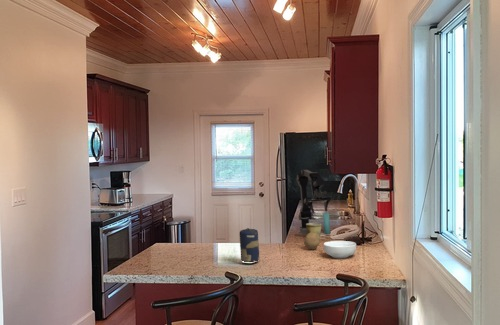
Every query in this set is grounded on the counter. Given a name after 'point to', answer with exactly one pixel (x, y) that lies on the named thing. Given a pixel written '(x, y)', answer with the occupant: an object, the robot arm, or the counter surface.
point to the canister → (249, 245)
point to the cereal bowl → (340, 248)
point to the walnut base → (302, 232)
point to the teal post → (326, 223)
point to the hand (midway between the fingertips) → (319, 212)
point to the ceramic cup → (314, 228)
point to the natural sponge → (312, 241)
